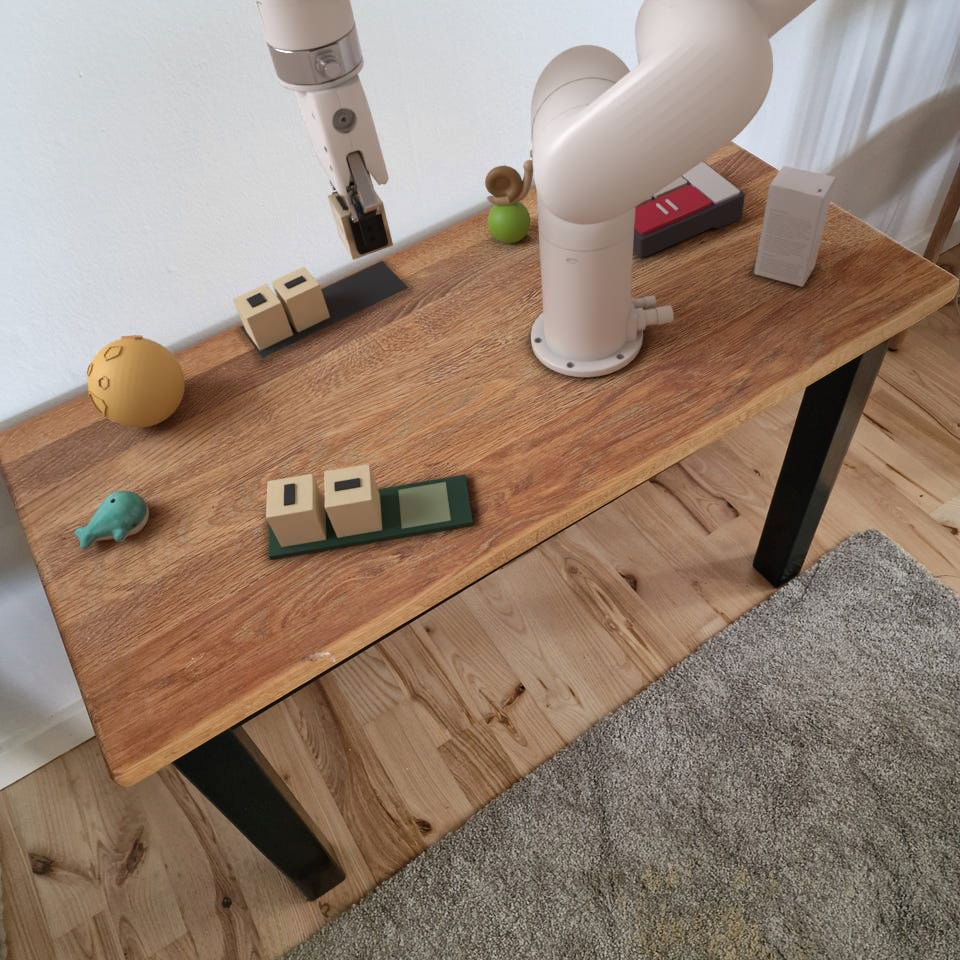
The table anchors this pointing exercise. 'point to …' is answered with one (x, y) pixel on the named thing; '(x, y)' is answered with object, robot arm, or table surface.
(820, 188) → the cosmetic box
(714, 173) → the calculator
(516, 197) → the snail figurine
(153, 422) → the stress ball
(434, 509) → the mat
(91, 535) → the whale figurine
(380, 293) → the far word mat
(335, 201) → the tile
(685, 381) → the table surface
